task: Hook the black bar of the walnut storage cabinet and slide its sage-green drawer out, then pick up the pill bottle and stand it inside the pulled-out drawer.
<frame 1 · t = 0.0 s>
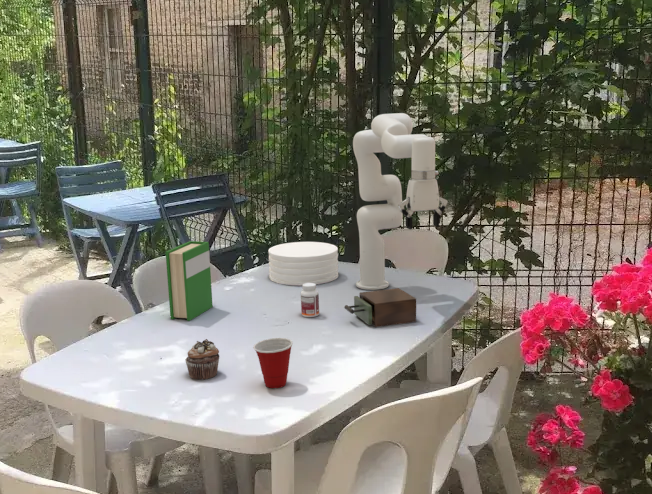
hand: (422, 227, 282), 31 cm above the table, tool pointing down, fingers open, 9 cm apart
drawer: (373, 308, 288), point 4 cm above the table, slide at 1.0 cm
cabinet: (387, 318, 291), on the table
cupcake: (203, 375, 244), on the table
plastic cup: (274, 385, 235), on the table
plate stack: (303, 277, 349), on the table
hardback book: (192, 313, 304), on the table
pill bottle: (310, 315, 297), on the table
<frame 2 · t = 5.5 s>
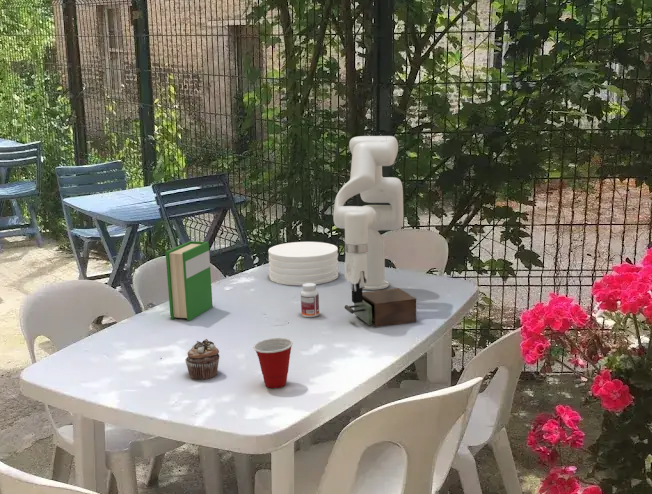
hand: (357, 301, 286), 7 cm above the table, tool pointing down, fingers closed
drawer: (373, 308, 288), point 4 cm above the table, slide at 1.0 cm, touching gripper
everything else where it was.
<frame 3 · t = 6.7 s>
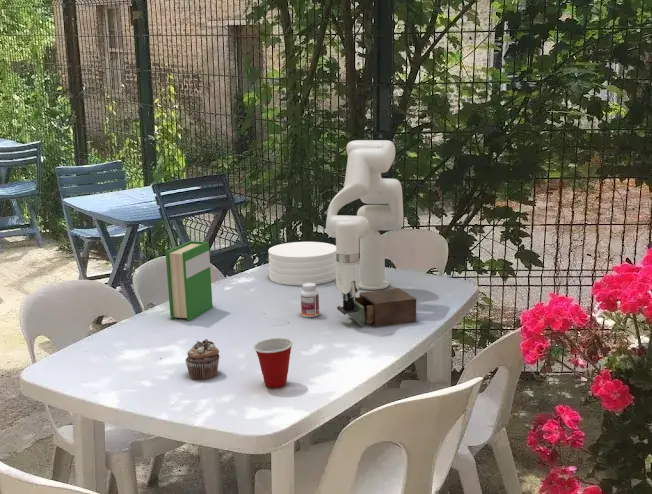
hand: (348, 311, 286), 4 cm above the table, tool pointing down, fingers closed
drawer: (365, 309, 287), point 4 cm above the table, slide at 3.7 cm, touching gripper
everything else where it was.
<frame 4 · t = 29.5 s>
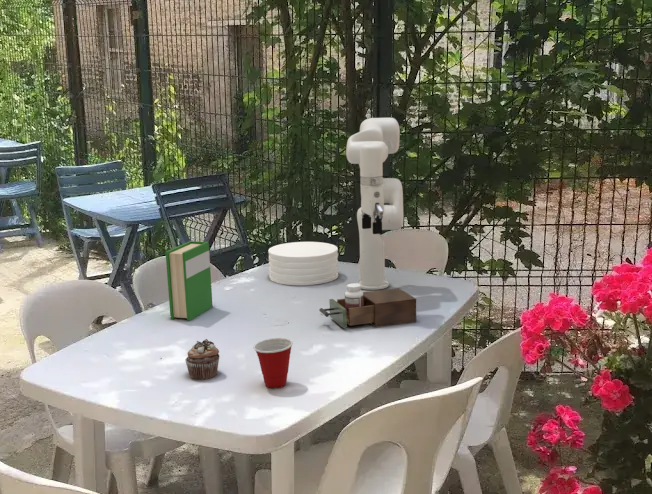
hand: (371, 231, 293), 28 cm above the table, tool pointing down, fingers open, 9 cm apart
drawer: (348, 311, 286), point 4 cm above the table, slide at 9.9 cm, touching pill bottle
pill bottle: (354, 317, 287), point 2 cm above the table, touching drawer
everything else where it was.
at the end: drawer slide at 9.9 cm; pill bottle inside the target area in the drawer (1.1 cm from its centre), point 1.8 cm above the cabinet's base; pill bottle tilted 0° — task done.
